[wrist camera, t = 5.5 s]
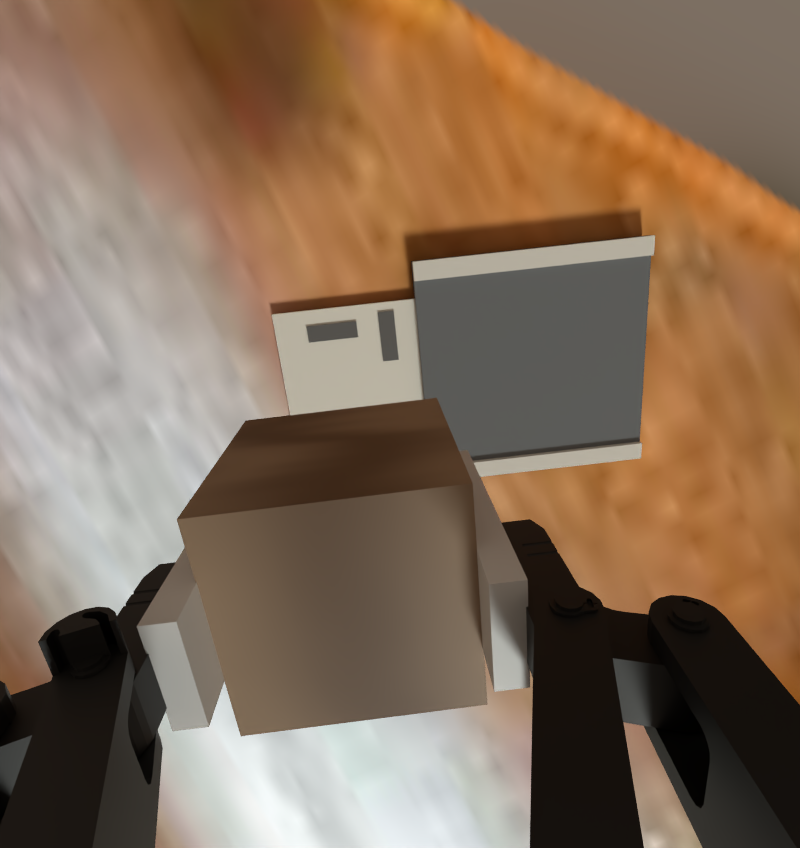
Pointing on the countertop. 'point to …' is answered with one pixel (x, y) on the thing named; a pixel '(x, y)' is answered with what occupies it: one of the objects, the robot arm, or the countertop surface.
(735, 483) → the countertop surface
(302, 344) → the beige flat square panel
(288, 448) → the walnut block
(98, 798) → the robot arm
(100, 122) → the countertop surface
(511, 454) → the tray
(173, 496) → the countertop surface
